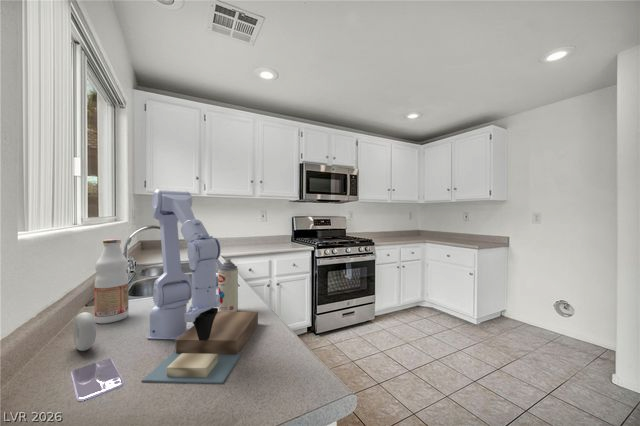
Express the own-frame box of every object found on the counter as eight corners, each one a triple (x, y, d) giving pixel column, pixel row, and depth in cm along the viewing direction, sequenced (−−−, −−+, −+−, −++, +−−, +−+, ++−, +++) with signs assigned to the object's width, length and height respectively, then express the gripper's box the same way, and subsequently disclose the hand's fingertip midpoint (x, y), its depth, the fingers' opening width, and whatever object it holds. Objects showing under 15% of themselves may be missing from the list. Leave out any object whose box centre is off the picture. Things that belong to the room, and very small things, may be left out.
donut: (98, 352, 70) (98, 314, 70) (80, 358, 67) (80, 318, 67) (87, 341, 76) (87, 307, 76) (71, 346, 73) (71, 310, 73)
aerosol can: (216, 311, 99) (215, 258, 99) (234, 307, 103) (233, 256, 103) (222, 317, 93) (221, 261, 94) (240, 312, 98) (240, 259, 98)
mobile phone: (111, 356, 67) (125, 381, 57) (111, 360, 67) (125, 386, 57) (70, 369, 61) (77, 400, 51) (69, 373, 61) (77, 405, 51)
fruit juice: (103, 326, 86) (103, 241, 87) (88, 321, 91) (89, 240, 91) (134, 316, 95) (134, 238, 95) (119, 312, 99) (119, 238, 99)
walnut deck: (175, 355, 68) (175, 339, 68) (210, 323, 88) (210, 311, 88) (236, 356, 68) (236, 340, 68) (257, 323, 88) (257, 311, 88)
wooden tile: (181, 353, 65) (182, 361, 65) (166, 367, 59) (166, 376, 59) (217, 353, 64) (217, 362, 64) (206, 368, 58) (206, 377, 58)
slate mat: (141, 381, 57) (141, 380, 57) (174, 353, 69) (174, 351, 69) (222, 383, 57) (222, 381, 57) (241, 354, 69) (241, 352, 69)
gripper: (205, 294, 60) (206, 354, 60) (230, 279, 74) (230, 327, 74) (175, 294, 60) (175, 354, 60) (205, 279, 74) (205, 326, 74)
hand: (204, 339), depth 67 cm, fingers closed
